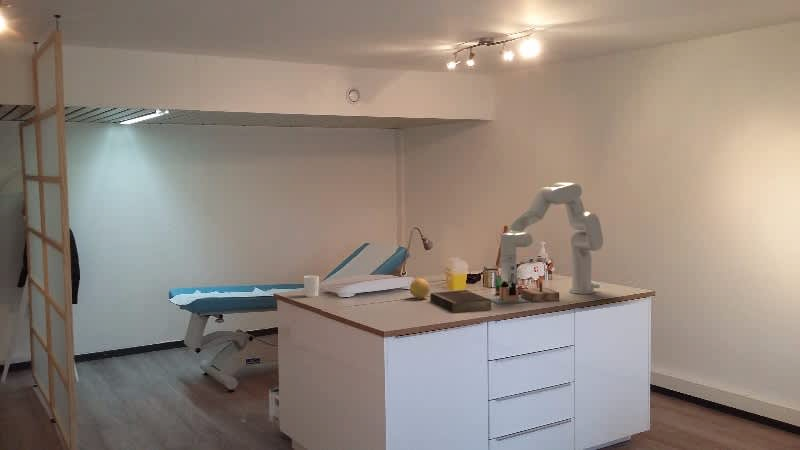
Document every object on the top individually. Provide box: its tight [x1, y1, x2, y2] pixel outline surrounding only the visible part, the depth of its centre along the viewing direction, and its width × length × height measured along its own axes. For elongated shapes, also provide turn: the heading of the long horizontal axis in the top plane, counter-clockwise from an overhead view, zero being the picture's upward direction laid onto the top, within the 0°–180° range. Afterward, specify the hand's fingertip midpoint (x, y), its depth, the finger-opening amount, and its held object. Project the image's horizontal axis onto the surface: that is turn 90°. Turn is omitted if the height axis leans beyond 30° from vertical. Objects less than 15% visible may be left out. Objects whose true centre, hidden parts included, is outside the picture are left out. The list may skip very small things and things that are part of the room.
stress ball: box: [409, 277, 431, 300], centre depth 359 cm, size 10×10×10 cm
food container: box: [494, 274, 510, 295], centre depth 371 cm, size 12×6×10 cm, turn 143°
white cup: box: [303, 274, 320, 298], centre depth 368 cm, size 8×8×10 cm
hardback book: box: [429, 289, 492, 313], centre depth 340 cm, size 29×19×5 cm, turn 18°
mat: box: [487, 296, 530, 305], centre depth 350 cm, size 16×13×1 cm
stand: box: [520, 281, 560, 303], centre depth 355 cm, size 14×14×8 cm
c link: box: [498, 287, 520, 302], centre depth 350 cm, size 7×7×6 cm
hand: (508, 293), depth 350 cm, fingers open, 9 cm apart
